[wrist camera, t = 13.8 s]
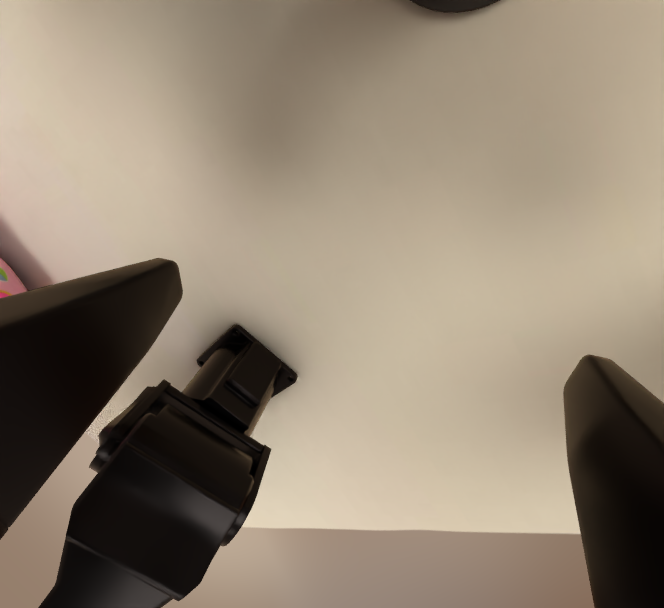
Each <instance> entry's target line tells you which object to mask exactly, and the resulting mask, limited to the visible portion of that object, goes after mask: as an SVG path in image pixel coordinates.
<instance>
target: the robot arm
mask: <svg viewBox="0 0 664 608" xmlns="http://www.w3.org/2000/svg"><path fill="white" fill-rule="evenodd" d="M182 294H183V289H182V284H181V278H180V273H179V268H178V265H177V264H176V263H175V262H174V261H171V260H167V259H162V258H156V259H152V260H148V261H144V262H140V263H136V264H132V265H128V266H124V267H121V268H117V269H113V270H109V271H105V272H101V273H97V274H93V275H89V276H85V277H81V278H77V279H73V280H70V281H66V282H62V283H58V284H54V285H50V286H46V287H42V288H38V289H34V290H30V291H26V292H22V293H19V294H15V295H11V296H7V297H3V298H0V539H1V538H2V537H3V536H4V534H5V533H6V532H7V530H8V527H10V526H11V525H12V524H13V522H14V521H15V520H16V518H17V517H18V516H19V515H20V514H21V512H22V511H23V510H24V508H25V507H26V506H27V505H28V503H29V502H30V501H31V500H32V498H33V497H34V496H35V494H36V493H37V492H38V491H39V489H40V488H41V487H42V486H43V484H44V483H45V482H46V480H47V479H48V478H49V477H50V475H51V474H52V473H53V472H54V470H55V469H56V468H57V466H58V465H59V464H60V463H61V461H62V460H63V459H64V458H65V456H66V455H67V454H68V452H69V451H70V450H71V449H72V447H73V446H74V445H75V444H76V442H77V441H78V440H79V438H80V437H81V436H82V435H83V433H84V432H85V431H86V430H87V428H88V427H89V426H90V425H91V423H92V422H93V421H94V419H95V418H96V417H97V416H98V414H99V413H100V412H101V411H102V409H103V408H104V407H105V405H106V404H107V403H108V402H109V400H110V399H111V398H112V397H113V395H114V394H115V393H116V392H117V390H118V389H119V388H120V386H121V385H122V384H123V383H124V381H125V380H126V379H127V378H128V376H129V375H130V374H131V372H132V371H133V370H134V369H135V367H136V366H137V365H138V364H139V362H140V361H141V360H142V358H143V357H144V356H145V355H146V353H147V352H148V351H149V349H150V348H151V346H152V345H153V343H154V342H155V340H156V339H157V337H158V335H159V334H160V332H161V331H162V329H163V328H164V326H165V324H166V323H167V321H168V320H169V318H170V316H171V315H172V313H173V312H174V310H175V308H176V307H177V305H178V304H179V302H180V300H181V298H182ZM197 364H198V365H199V366H200V367H201V369H200V370H199V371H198V372H197V374H196V375H195V376H194V378H193V379H192V380H191V381H190V383H189V384H188V385H187V386H186V388H185V389H184V390H183V392H180V391H179V390H177V389H176V388H174V387H173V386H171V383H169V382H167V381H166V380H163V381H162V382H161V383H160V384H159V385H158V386H156V387H154V386H153V387H147V388H146V389H145V390H144V391H143V392H142V393H141V394H140V395H139V396H138V398H137V399H136V400H135V401H134V402H133V403H132V404H131V405H130V406H129V407H128V408H127V409H125V410H124V411H123V412H122V413H121V414H119V415H118V416H117V417H116V418H115V419H114V420H112V421H111V422H110V423H109V424H108V425H107V426H105V427H104V429H103V430H102V431H101V432H100V434H99V444H100V447H99V448H98V450H97V451H96V454H97V455H96V456H95V458H94V459H93V461H92V462H91V464H90V466H89V468H91V469H93V470H94V471H96V472H98V474H97V475H96V476H95V478H94V479H93V480H92V481H91V483H90V484H89V485H88V486H87V488H86V489H85V490H84V491H83V493H82V494H81V495H80V496H79V498H78V499H77V500H76V502H75V504H74V505H73V508H72V511H71V516H70V521H69V525H68V529H67V533H66V539H65V543H64V548H63V553H62V557H61V562H60V567H59V571H58V575H57V580H56V583H55V586H54V587H53V589H52V590H51V591H50V593H49V594H48V595H47V597H46V598H45V599H44V601H43V602H42V603H41V605H40V606H39V608H161V607H163V606H164V605H165V604H167V603H168V602H169V601H170V600H172V599H175V600H177V601H180V600H181V599H183V598H184V597H185V596H186V595H188V594H189V593H190V592H191V591H192V590H193V589H194V588H196V587H197V586H198V585H199V584H200V582H201V581H202V579H203V576H204V574H205V573H206V571H207V569H208V567H209V565H210V563H211V561H212V559H213V557H214V555H215V554H216V552H217V550H218V549H219V547H220V545H221V546H226V545H227V544H228V543H229V542H230V541H231V540H232V539H233V538H234V536H235V535H236V534H237V532H238V531H239V529H240V528H241V526H242V525H243V523H244V521H245V520H246V518H247V516H248V514H249V512H250V510H251V508H252V506H253V504H254V501H255V499H256V496H257V493H258V489H259V486H260V483H261V480H262V477H263V474H264V471H265V467H266V464H267V461H268V458H269V455H270V452H271V449H270V448H269V447H267V446H266V445H264V446H263V445H262V444H260V443H259V442H257V441H256V440H254V439H253V438H251V437H250V435H251V434H252V432H253V430H254V428H255V426H256V424H257V422H258V420H259V418H260V416H261V415H262V413H263V411H264V409H265V407H266V405H267V403H268V401H269V399H270V398H272V397H273V396H275V395H276V394H278V393H279V392H281V391H283V390H284V389H286V388H287V387H289V386H290V385H292V384H294V383H295V382H296V380H297V377H298V376H297V374H296V373H295V372H294V371H293V370H292V369H290V368H289V367H288V366H287V365H286V364H285V363H283V362H282V361H281V360H280V359H279V358H277V357H276V356H275V355H274V354H273V353H272V352H270V351H269V350H268V349H267V348H266V347H265V346H263V345H262V344H261V343H260V342H259V341H258V340H256V339H255V338H254V337H253V336H252V335H251V334H249V333H248V332H247V331H246V330H245V329H244V328H242V327H241V326H240V325H233V326H232V327H231V328H230V329H229V330H227V331H226V332H225V333H224V334H223V335H222V336H221V337H220V338H219V339H218V340H217V341H216V342H215V343H213V344H212V345H211V346H210V347H209V348H208V349H207V350H206V351H205V352H204V353H203V354H202V355H201V356H200V357H199V358H198V359H197ZM291 377H292V378H291ZM564 411H565V428H566V445H567V458H568V466H569V473H570V478H571V484H572V489H573V494H574V500H575V505H576V510H577V516H578V521H579V527H580V532H581V537H582V543H583V547H584V553H585V559H586V564H587V569H588V574H589V580H590V585H591V591H592V596H593V601H594V607H595V608H664V403H663V402H662V401H660V400H659V399H658V398H657V397H656V396H654V395H653V394H652V393H651V392H649V391H648V390H647V389H646V388H645V387H643V386H642V385H641V384H640V383H639V382H637V381H636V380H635V379H634V378H633V377H631V376H630V375H629V374H628V373H627V372H625V371H624V370H623V369H622V368H621V367H619V366H618V365H617V364H616V363H615V362H613V361H612V360H610V359H608V358H603V357H599V356H594V355H586V356H584V357H583V358H582V359H581V360H580V362H579V363H578V365H577V366H576V368H575V369H574V371H573V372H572V374H571V375H570V377H569V378H568V380H567V382H566V384H565V386H564Z"/></svg>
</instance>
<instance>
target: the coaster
mask: <svg viewBox="0 0 664 608" xmlns="http://www.w3.org/2000/svg"><path fill="white" fill-rule="evenodd" d="M410 1H412V2H414V3H416V4H418V5H419V6H422V7H425V8H427V9H430V10H434V11H440V12H456V13H458V12H465V11H472V10H476V9H479V8H482V7H486V6H488V5H490V4H493V3H495V2H497V1H499V0H410Z"/></svg>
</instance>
